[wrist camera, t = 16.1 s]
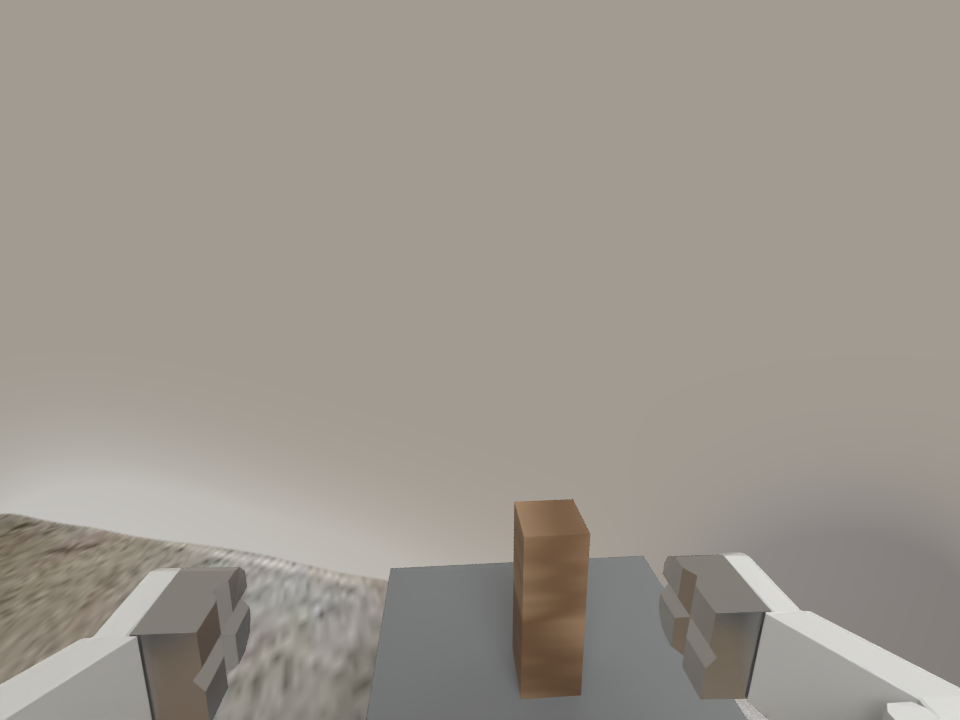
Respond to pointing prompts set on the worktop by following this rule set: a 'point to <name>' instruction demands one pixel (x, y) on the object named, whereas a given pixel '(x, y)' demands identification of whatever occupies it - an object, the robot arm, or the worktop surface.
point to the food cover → (533, 636)
